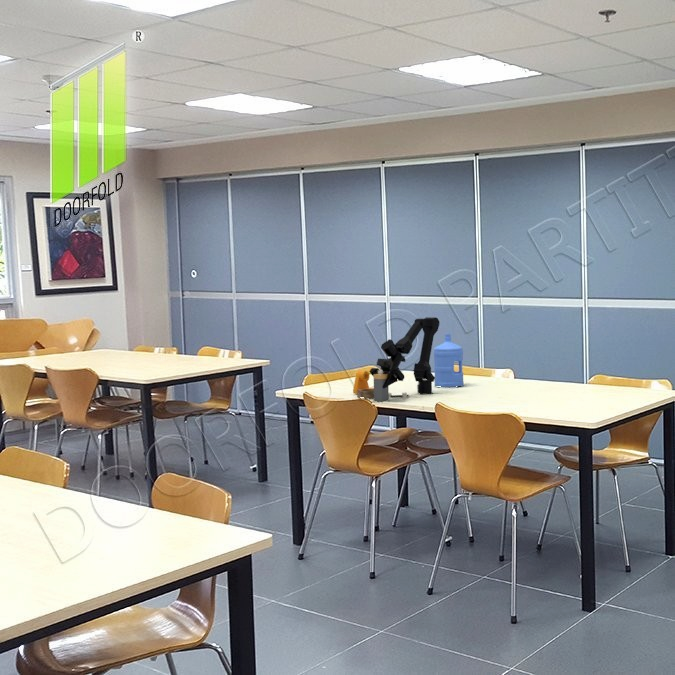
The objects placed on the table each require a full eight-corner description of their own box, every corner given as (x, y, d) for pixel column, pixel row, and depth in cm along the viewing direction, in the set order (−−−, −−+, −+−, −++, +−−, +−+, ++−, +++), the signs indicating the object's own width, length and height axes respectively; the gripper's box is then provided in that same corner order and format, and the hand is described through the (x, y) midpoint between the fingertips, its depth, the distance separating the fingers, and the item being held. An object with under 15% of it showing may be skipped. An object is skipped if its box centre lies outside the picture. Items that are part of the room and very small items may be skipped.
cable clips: (406, 396, 460) (406, 392, 460) (406, 397, 457) (406, 393, 457) (386, 396, 461) (386, 392, 461) (386, 397, 457) (386, 393, 457)
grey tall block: (381, 399, 450) (380, 370, 449) (388, 400, 446) (388, 371, 445) (374, 401, 446) (373, 371, 445) (381, 402, 442) (381, 372, 441)
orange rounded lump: (364, 395, 469) (363, 372, 468) (353, 395, 473) (352, 371, 473) (377, 393, 477) (376, 370, 476) (365, 392, 482) (365, 369, 481)
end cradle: (376, 395, 466) (376, 388, 466) (381, 398, 456) (380, 390, 456) (357, 396, 464) (357, 389, 464) (361, 399, 455) (361, 391, 454)
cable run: (408, 396, 459) (408, 394, 459) (408, 397, 457) (408, 395, 457) (379, 397, 461) (379, 395, 461) (379, 397, 459) (379, 395, 459)
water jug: (433, 388, 491) (432, 335, 489) (435, 384, 506) (434, 333, 504) (463, 387, 488) (462, 335, 486) (464, 384, 504) (462, 333, 502)
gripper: (371, 351, 454) (356, 376, 447) (399, 352, 441) (384, 378, 434) (382, 366, 460) (368, 390, 453) (411, 367, 447) (396, 392, 440)
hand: (379, 387), depth 445 cm, fingers closed on grey tall block, 5 cm apart
